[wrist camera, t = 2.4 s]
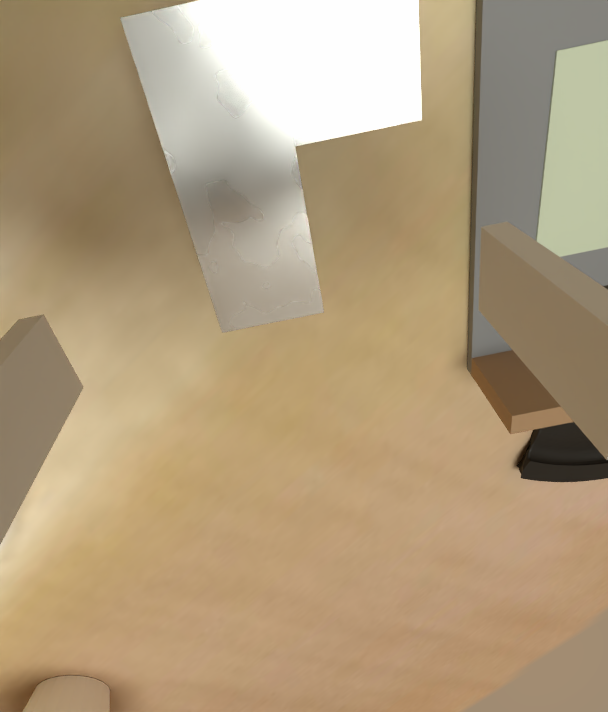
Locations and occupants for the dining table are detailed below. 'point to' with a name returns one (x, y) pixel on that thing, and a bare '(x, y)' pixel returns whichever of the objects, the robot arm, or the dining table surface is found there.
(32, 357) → the robot arm
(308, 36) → the bracket
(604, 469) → the dark sector wedge
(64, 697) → the cup
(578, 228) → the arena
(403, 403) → the dining table surface
